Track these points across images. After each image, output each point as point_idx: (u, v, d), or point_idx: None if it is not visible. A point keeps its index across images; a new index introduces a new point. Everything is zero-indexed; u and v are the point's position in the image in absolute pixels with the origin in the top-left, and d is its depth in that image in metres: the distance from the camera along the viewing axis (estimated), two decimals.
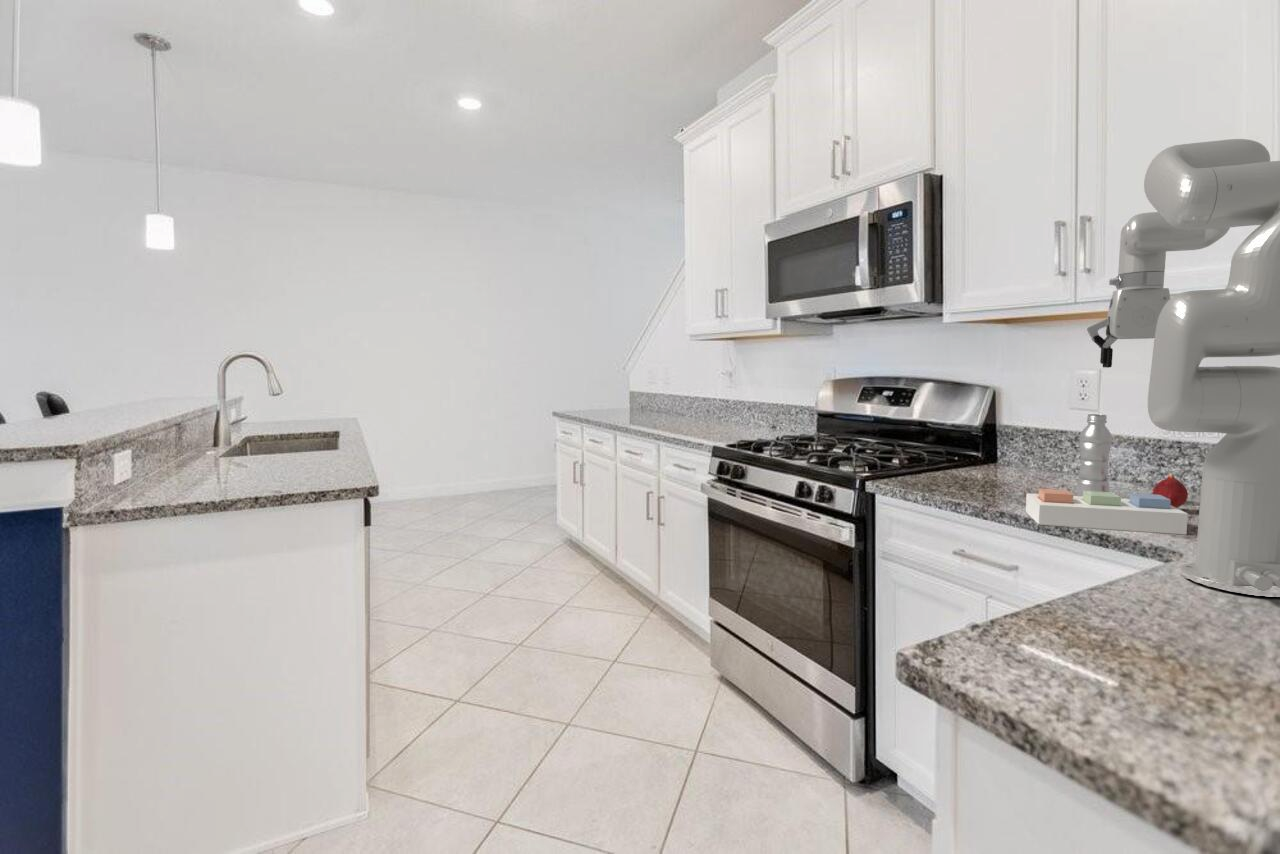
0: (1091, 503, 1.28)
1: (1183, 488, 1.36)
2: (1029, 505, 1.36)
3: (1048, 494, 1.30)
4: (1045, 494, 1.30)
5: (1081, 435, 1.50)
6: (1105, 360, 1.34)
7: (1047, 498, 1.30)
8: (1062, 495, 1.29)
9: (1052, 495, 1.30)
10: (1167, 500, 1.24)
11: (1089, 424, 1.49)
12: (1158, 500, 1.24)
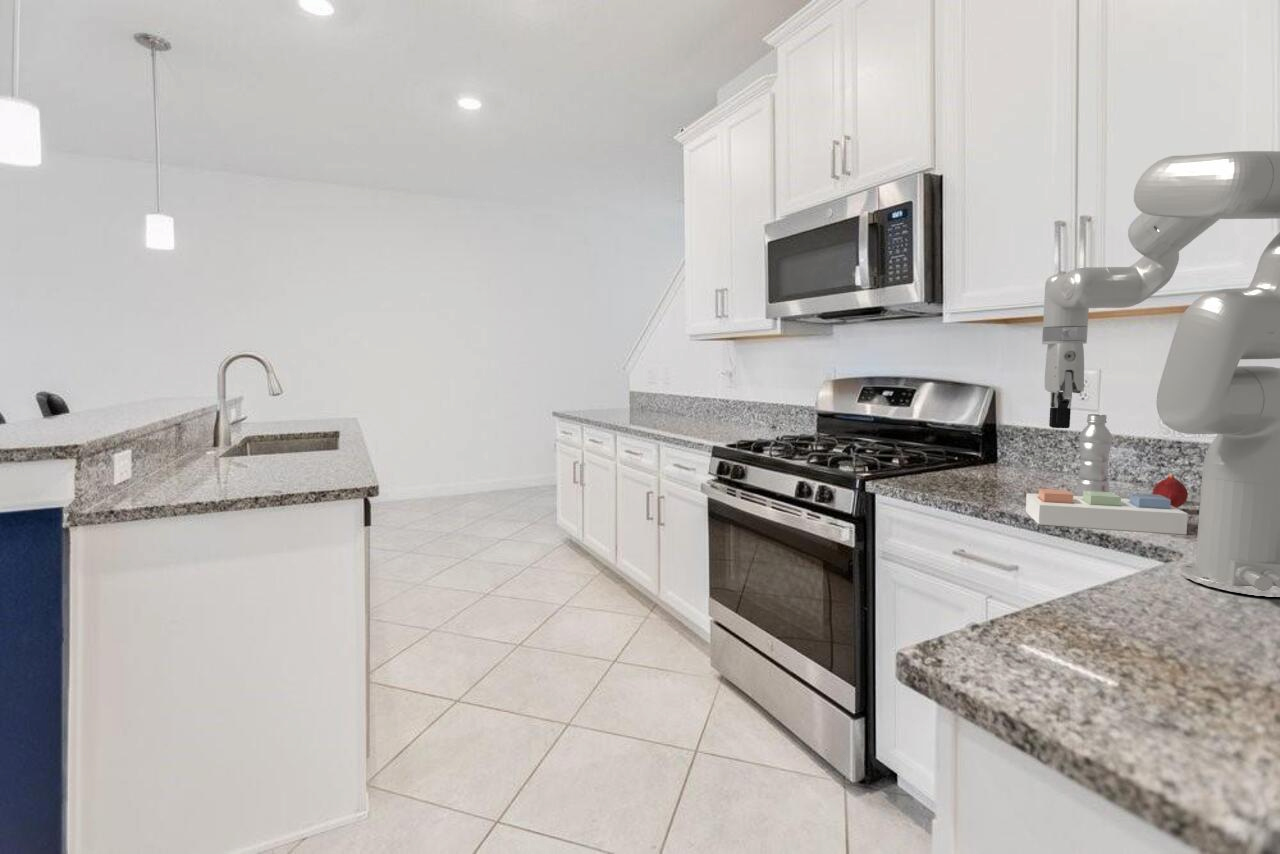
0: (1091, 503, 1.28)
1: (1183, 488, 1.36)
2: (1029, 505, 1.36)
3: (1048, 494, 1.30)
4: (1045, 494, 1.30)
5: (1081, 435, 1.50)
6: None
7: (1047, 498, 1.30)
8: (1062, 495, 1.29)
9: (1052, 495, 1.30)
10: (1167, 500, 1.24)
11: (1089, 424, 1.49)
12: (1158, 500, 1.24)
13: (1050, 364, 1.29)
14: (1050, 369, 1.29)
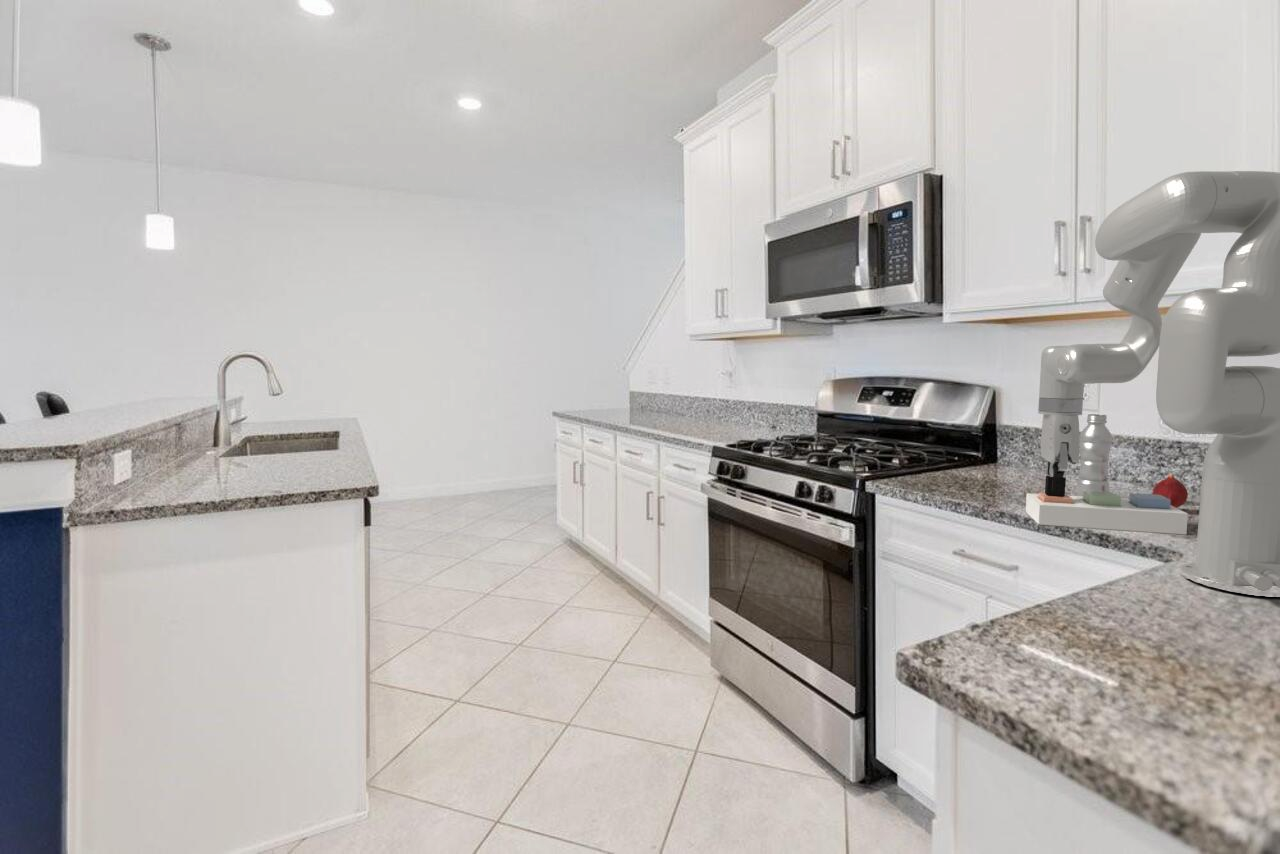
0: (1091, 503, 1.28)
1: (1183, 488, 1.36)
2: (1029, 505, 1.36)
3: (1048, 498, 1.30)
4: (1045, 498, 1.31)
5: (1081, 435, 1.50)
6: None
7: None
8: (1062, 499, 1.30)
9: (1052, 499, 1.30)
10: (1167, 500, 1.24)
11: (1089, 424, 1.49)
12: (1158, 500, 1.24)
13: (1046, 434, 1.30)
14: (1046, 439, 1.31)
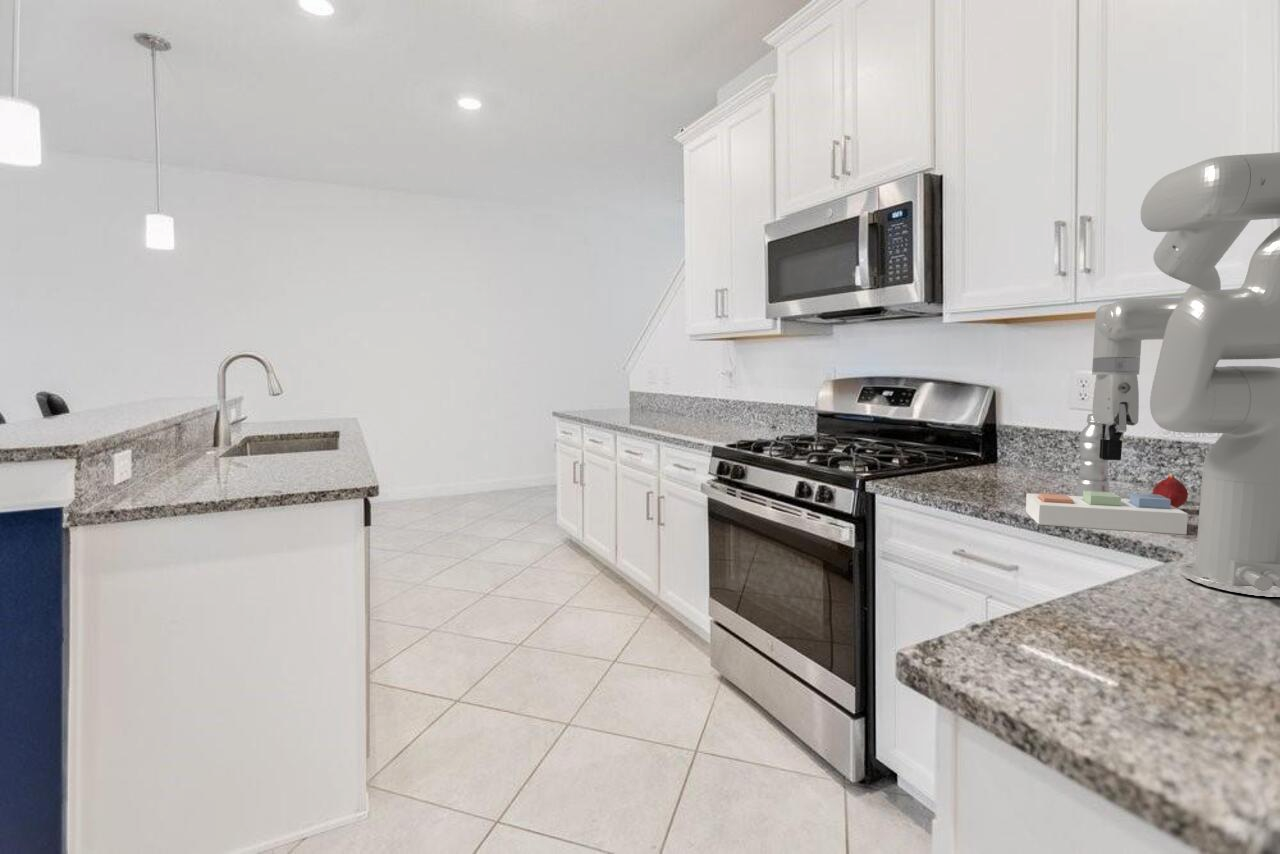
0: (1091, 503, 1.28)
1: (1183, 488, 1.36)
2: (1029, 505, 1.36)
3: (1048, 499, 1.30)
4: (1045, 499, 1.31)
5: (1081, 435, 1.50)
6: None
7: None
8: (1062, 500, 1.30)
9: (1052, 500, 1.30)
10: (1167, 500, 1.24)
11: (1089, 424, 1.49)
12: (1158, 500, 1.24)
13: (1102, 395, 1.26)
14: (1102, 400, 1.26)
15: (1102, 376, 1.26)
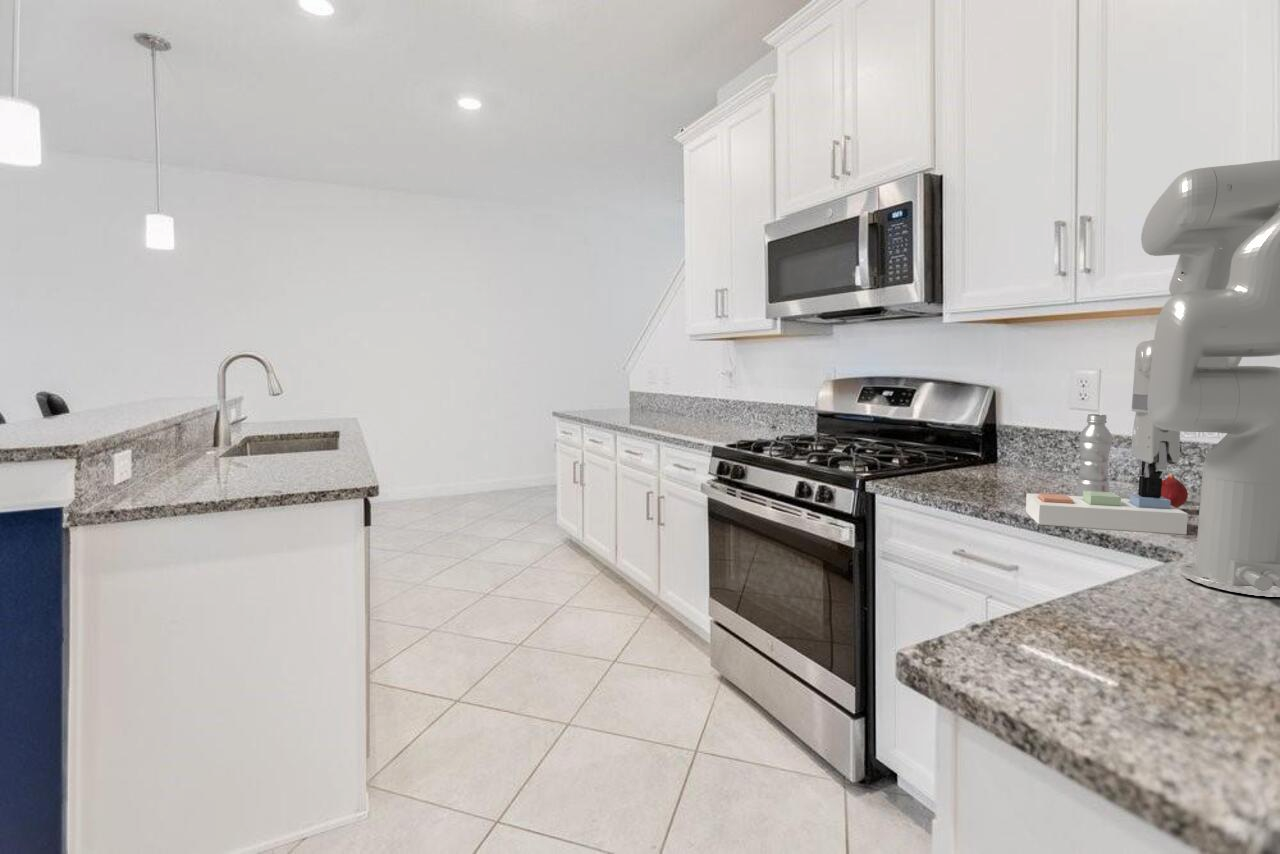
0: (1091, 503, 1.28)
1: (1183, 488, 1.36)
2: (1029, 505, 1.36)
3: (1048, 499, 1.30)
4: (1045, 499, 1.31)
5: (1081, 435, 1.50)
6: None
7: None
8: (1062, 500, 1.30)
9: (1052, 500, 1.30)
10: (1167, 501, 1.24)
11: (1089, 424, 1.49)
12: (1158, 501, 1.24)
13: (1141, 432, 1.25)
14: (1141, 438, 1.25)
15: (1142, 413, 1.25)
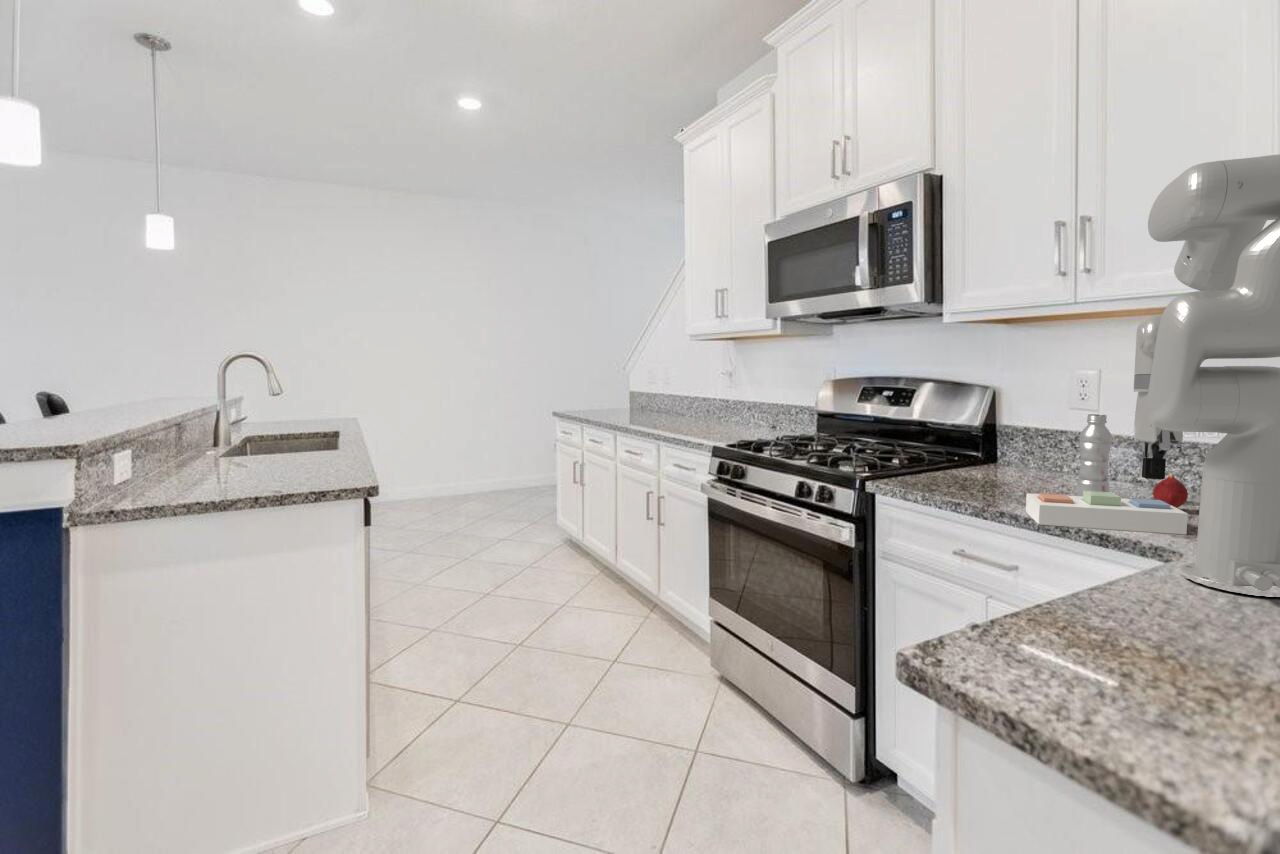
0: (1091, 503, 1.28)
1: (1183, 488, 1.36)
2: (1029, 505, 1.36)
3: (1048, 499, 1.30)
4: (1045, 499, 1.31)
5: (1081, 435, 1.50)
6: None
7: None
8: (1062, 500, 1.30)
9: (1052, 500, 1.30)
10: (1167, 505, 1.24)
11: (1089, 424, 1.49)
12: (1158, 505, 1.24)
13: (1144, 412, 1.24)
14: (1144, 418, 1.24)
15: (1144, 393, 1.24)
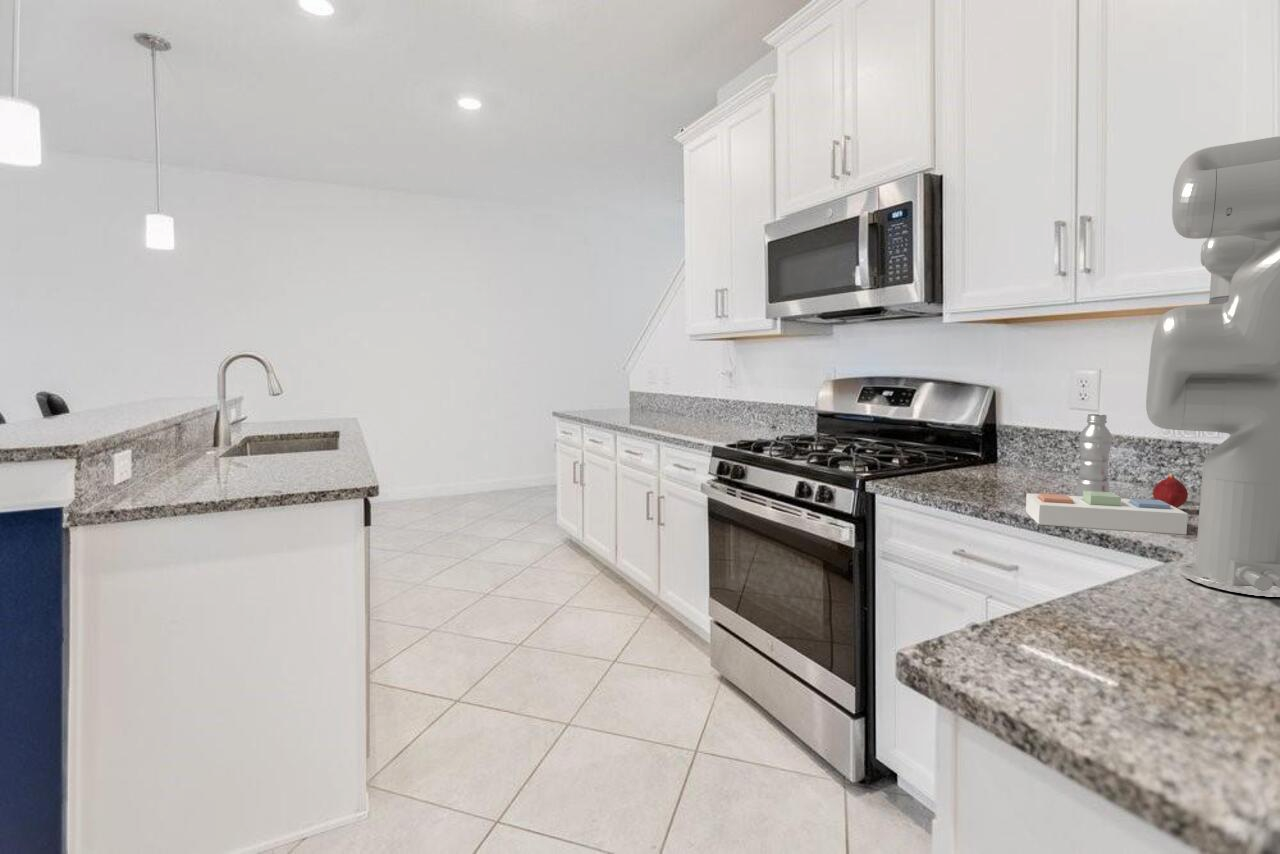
0: (1091, 503, 1.28)
1: (1183, 488, 1.36)
2: (1029, 505, 1.36)
3: (1048, 499, 1.30)
4: (1045, 499, 1.31)
5: (1081, 435, 1.50)
6: None
7: None
8: (1062, 500, 1.30)
9: (1052, 500, 1.30)
10: (1167, 505, 1.24)
11: (1089, 424, 1.49)
12: (1158, 505, 1.24)
13: None
14: None
15: None
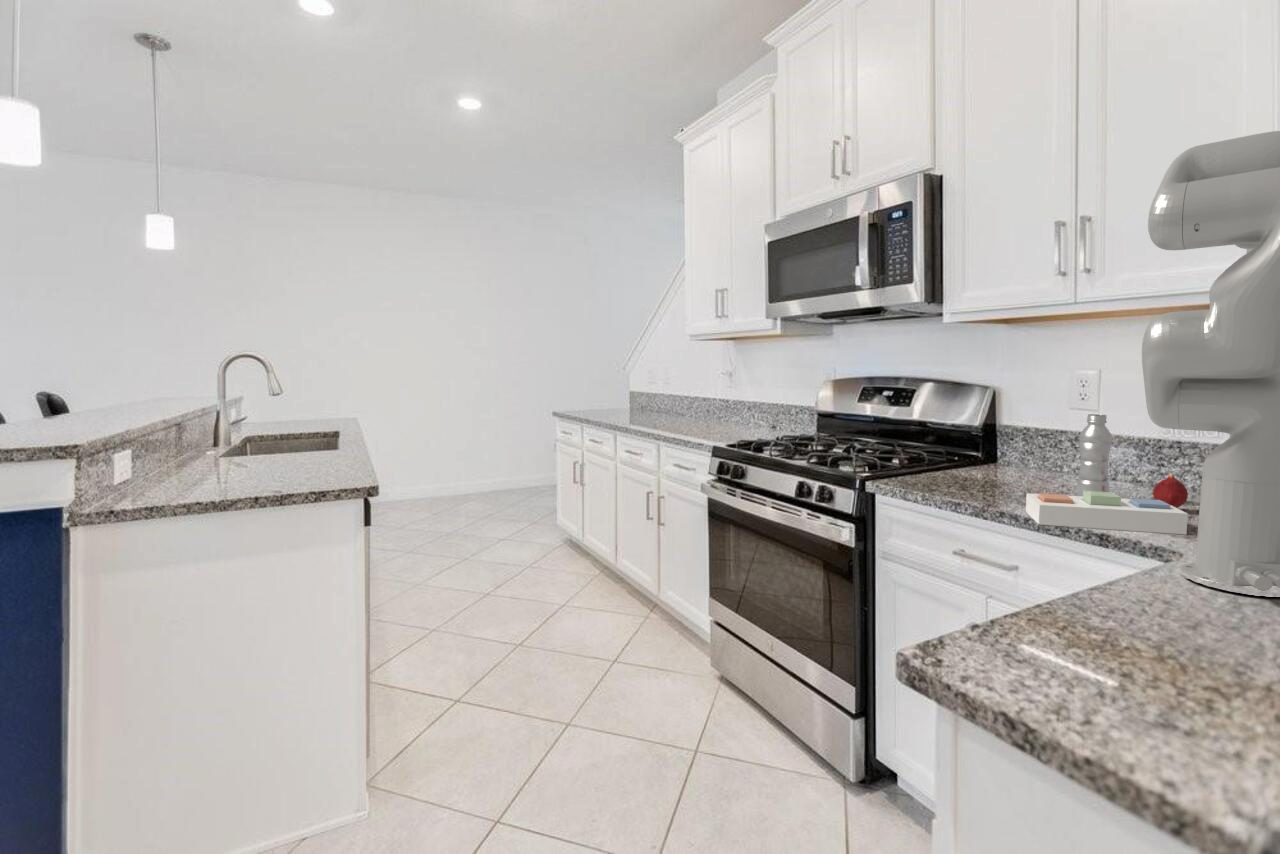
0: (1091, 503, 1.28)
1: (1183, 488, 1.36)
2: (1029, 505, 1.36)
3: (1048, 499, 1.30)
4: (1045, 499, 1.31)
5: (1081, 435, 1.50)
6: None
7: None
8: (1062, 500, 1.30)
9: (1052, 500, 1.30)
10: (1167, 505, 1.24)
11: (1089, 424, 1.49)
12: (1158, 505, 1.24)
13: None
14: None
15: None
